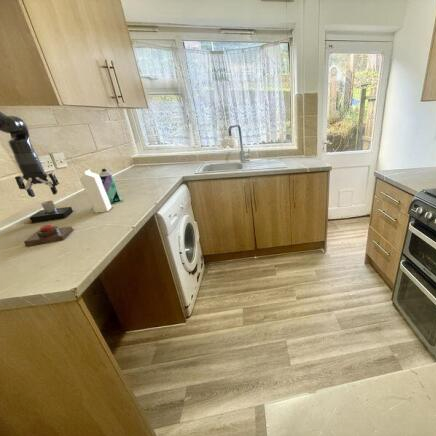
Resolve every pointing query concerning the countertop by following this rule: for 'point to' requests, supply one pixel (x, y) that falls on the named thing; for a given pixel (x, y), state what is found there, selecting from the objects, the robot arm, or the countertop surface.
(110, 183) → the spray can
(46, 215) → the panel
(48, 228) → the button
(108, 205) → the milk
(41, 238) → the igniter
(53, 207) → the hob knob
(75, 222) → the countertop surface
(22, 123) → the robot arm
